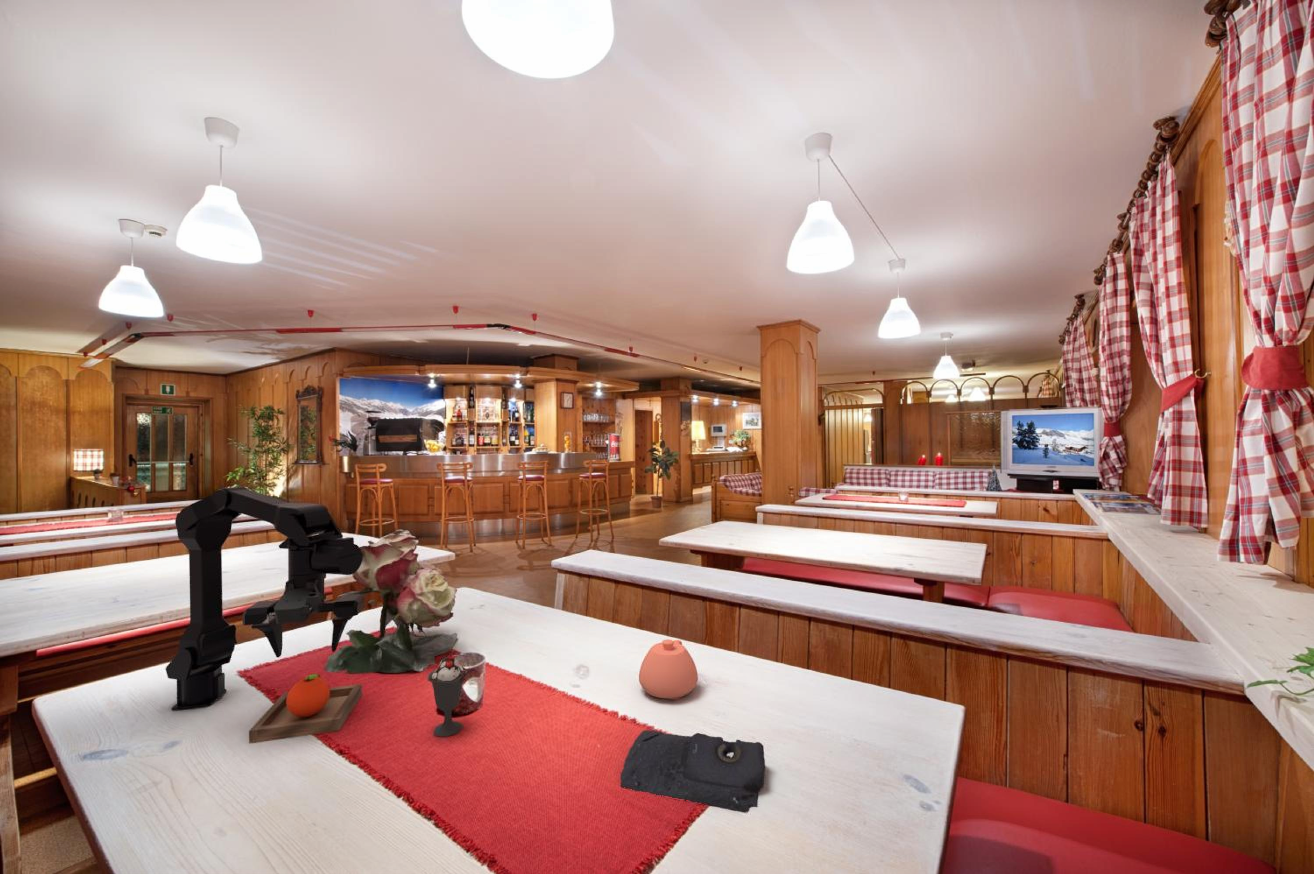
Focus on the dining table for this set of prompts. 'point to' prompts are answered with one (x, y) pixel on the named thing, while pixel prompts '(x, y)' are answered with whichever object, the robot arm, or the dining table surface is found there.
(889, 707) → the dining table surface
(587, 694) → the dining table surface
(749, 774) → the black grommet pouch
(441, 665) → the sundae
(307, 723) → the walnut dish
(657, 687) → the sugar bowl
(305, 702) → the clementine
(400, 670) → the rose bouquet
